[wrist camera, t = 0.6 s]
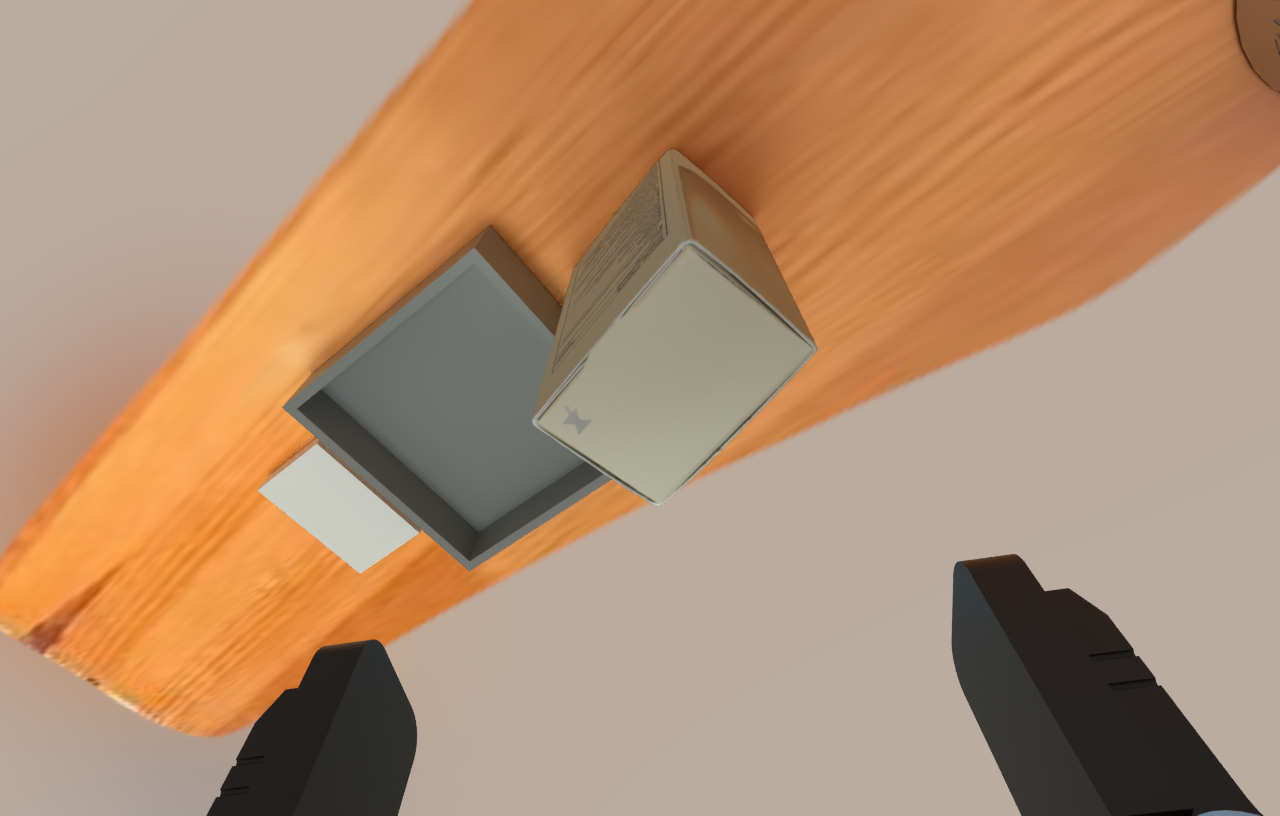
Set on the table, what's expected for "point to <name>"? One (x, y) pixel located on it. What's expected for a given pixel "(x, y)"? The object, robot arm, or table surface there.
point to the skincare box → (669, 335)
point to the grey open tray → (436, 421)
